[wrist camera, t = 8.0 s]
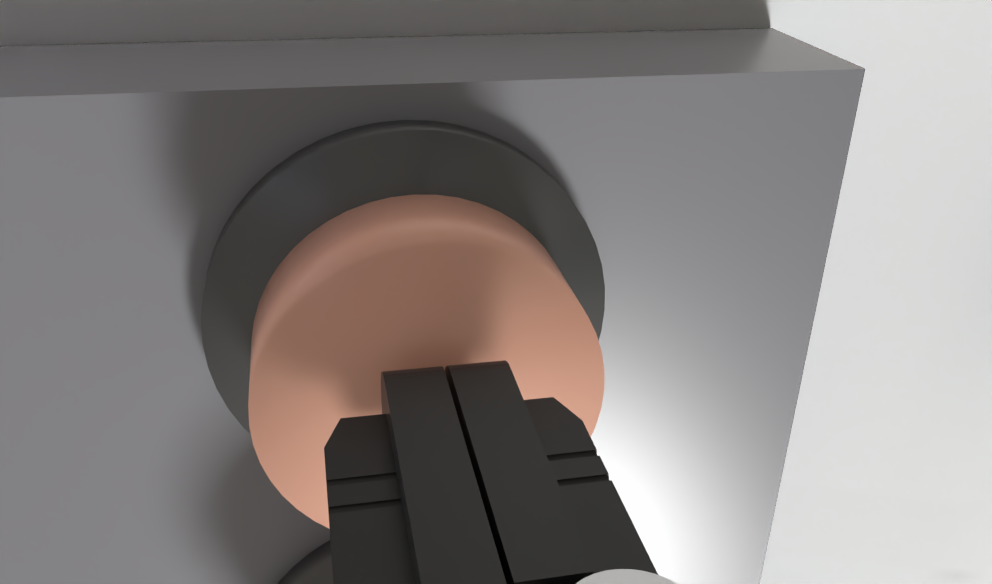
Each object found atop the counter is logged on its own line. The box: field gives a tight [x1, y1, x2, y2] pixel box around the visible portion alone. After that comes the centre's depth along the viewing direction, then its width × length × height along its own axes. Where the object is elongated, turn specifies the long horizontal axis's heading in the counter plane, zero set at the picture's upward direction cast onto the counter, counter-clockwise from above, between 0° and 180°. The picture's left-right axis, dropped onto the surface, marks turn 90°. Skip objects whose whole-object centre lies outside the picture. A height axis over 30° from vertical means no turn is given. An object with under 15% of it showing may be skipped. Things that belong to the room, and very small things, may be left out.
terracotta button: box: [248, 195, 605, 529], centre depth 13 cm, size 5×5×2 cm
